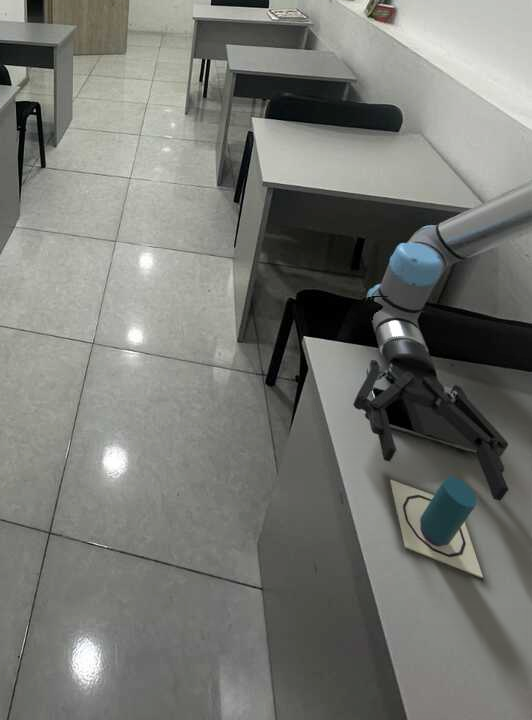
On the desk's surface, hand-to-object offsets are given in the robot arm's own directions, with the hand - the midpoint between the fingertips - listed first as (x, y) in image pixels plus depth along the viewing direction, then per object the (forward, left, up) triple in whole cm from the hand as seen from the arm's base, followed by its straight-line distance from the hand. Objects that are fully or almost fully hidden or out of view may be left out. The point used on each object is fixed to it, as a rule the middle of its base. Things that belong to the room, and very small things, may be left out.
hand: (444, 474), depth 67 cm
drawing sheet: (0, +3, -8) cm, 8 cm away
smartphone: (-4, -15, -8) cm, 17 cm away
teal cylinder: (0, +4, -7) cm, 8 cm away
